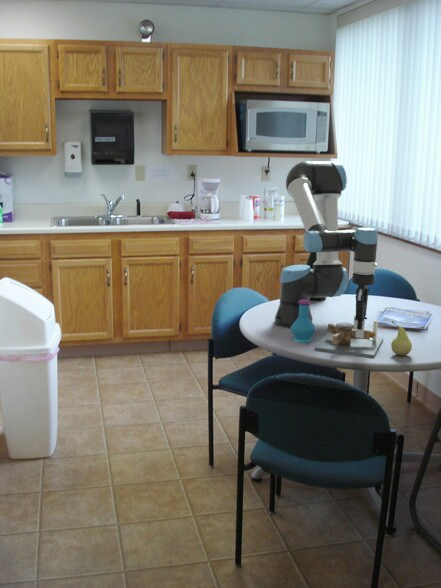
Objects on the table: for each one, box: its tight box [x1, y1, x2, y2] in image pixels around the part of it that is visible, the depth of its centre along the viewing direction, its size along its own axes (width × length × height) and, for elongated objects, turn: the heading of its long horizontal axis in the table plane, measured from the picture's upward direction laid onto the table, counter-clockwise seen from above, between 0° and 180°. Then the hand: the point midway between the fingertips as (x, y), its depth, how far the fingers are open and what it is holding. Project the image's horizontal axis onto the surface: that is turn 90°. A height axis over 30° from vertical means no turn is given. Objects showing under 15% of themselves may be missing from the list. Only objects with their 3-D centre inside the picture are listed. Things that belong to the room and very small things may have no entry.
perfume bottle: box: [290, 300, 317, 343], centre depth 252 cm, size 9×9×15 cm
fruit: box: [390, 320, 413, 357], centre depth 236 cm, size 7×8×12 cm
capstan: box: [327, 322, 375, 345], centre depth 244 cm, size 16×16×7 cm
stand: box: [313, 314, 384, 359], centre depth 246 cm, size 21×21×9 cm
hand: (359, 337), depth 242 cm, fingers closed
